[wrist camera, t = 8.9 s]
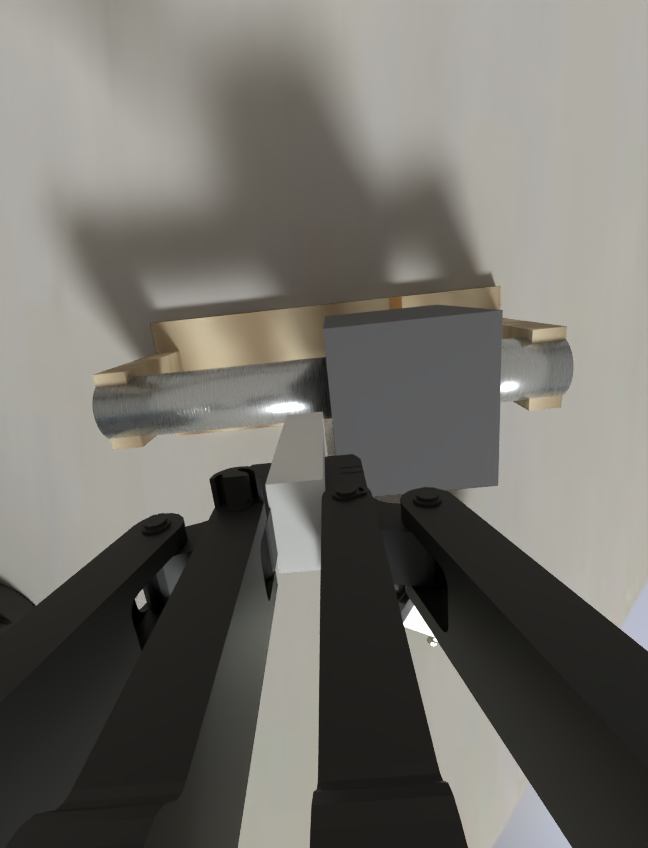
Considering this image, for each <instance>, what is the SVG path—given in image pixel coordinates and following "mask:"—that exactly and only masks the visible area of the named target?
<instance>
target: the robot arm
mask: <svg viewBox="0 0 648 848" xmlns="http://www.w3.org/2000/svg"><path fill="white" fill-rule="evenodd" d="M210 484H211V489H212V494H213V499H214V504H215V508H214V510H213V512H212V514H211V516H210V518H209V520H208V521H205V522H202V523H198V524H194V525H191V526H187V527H185V523H184V519H183V517H182V516H180V515H179V514H174V513H167V514H164V513H161V514H158V515H157V514H156V515H153V516H150V517H149V518H147V519H145V520H142V521H141V522H139V523H138V524H136V525H134V526H133V527H132V528H131V529H130V530H128V531H127V532H126V533H125V534H123V535H122V536H121V537H120V538H119V539H117V540H116V541H115V542H114V543H112V544H111V545H110V546H109V547H108V548H106V549H105V550H104V551H103V552H101V553H100V554H99V555H98V556H97V557H95V558H94V559H93V560H92V561H90V562H89V563H88V564H87V565H86V566H84V567H83V568H82V569H81V570H79V571H78V572H77V573H76V574H75V575H73V576H72V577H71V578H70V579H68V580H67V581H66V582H65V583H64V584H62V585H61V586H60V587H59V588H57V589H56V590H55V591H54V592H53V593H51V594H50V595H49V596H48V597H46V598H45V599H44V600H43V601H42V602H40V603H39V604H38V605H37V606H35V607H34V606H33V605H32V604H31V603H30V602H29V601H27V600H26V599H25V598H24V597H22V596H21V595H20V594H18V593H17V592H15V591H13V590H11V589H10V588H8V587H6V586H3V585H1V584H0V848H238V842H239V835H240V829H241V822H242V816H243V809H244V803H245V796H246V789H247V783H248V776H249V770H250V763H251V757H252V750H253V744H254V737H255V731H256V724H257V717H258V711H259V704H260V698H261V691H262V685H263V678H264V672H265V665H266V658H267V652H268V645H269V639H270V632H271V626H272V619H273V613H274V606H275V600H276V593H277V586H278V584H277V578H276V572H275V567H276V561H277V562H278V568H279V574H281V573H292V572H303V571H314V570H321V588H320V671H319V755H318V785H317V790H316V791H314V792H313V799H312V808H311V829H310V848H468V846H467V842H466V839H465V835H464V831H463V827H462V823H461V820H460V816H459V813H458V809H457V806H456V802H455V799H454V796H453V793H452V791H451V788H450V786H449V784H448V782H446V781H443V779H442V777H441V774H440V771H439V767H438V764H437V760H436V756H435V752H434V748H433V743H432V739H431V735H430V731H429V727H428V723H427V719H426V715H425V711H424V706H423V702H422V698H421V694H420V690H419V686H418V682H417V678H416V674H415V669H414V665H413V661H412V657H411V653H410V649H409V645H408V641H407V637H406V632H405V628H404V624H403V620H402V616H401V612H400V608H399V604H398V600H397V595H396V591H395V587H394V584H401V585H405V590H406V592H407V595H408V597H409V598H410V600H411V601H412V603H413V604H414V606H415V607H416V609H417V611H418V612H419V614H420V615H421V617H422V618H423V620H424V621H425V623H426V624H427V626H428V627H429V629H430V630H431V632H432V633H433V635H434V637H435V638H436V640H437V641H438V643H439V644H440V646H441V647H442V649H443V650H444V652H445V653H446V655H447V656H448V658H449V660H450V661H451V663H452V664H453V666H454V667H455V669H456V670H457V672H458V673H459V675H460V676H461V678H462V679H463V681H464V682H465V684H466V686H467V687H468V689H469V690H470V692H471V693H472V695H473V696H474V698H475V699H476V701H477V702H478V704H479V705H480V707H481V709H482V710H483V712H484V713H485V715H486V716H487V718H488V719H489V721H490V722H491V724H492V725H493V727H494V728H495V730H496V731H497V733H498V735H499V736H500V738H501V739H502V741H503V742H504V744H505V745H506V747H507V748H508V750H509V751H510V753H511V754H512V756H513V758H514V759H515V761H516V762H517V764H518V765H519V767H520V768H521V770H522V771H523V773H524V774H525V776H526V777H527V779H528V780H529V782H530V784H531V785H532V787H533V788H534V790H535V791H536V793H537V794H538V796H539V797H540V799H541V800H542V802H543V803H544V805H545V806H546V808H547V810H548V811H549V812H550V814H551V816H552V817H553V818H554V820H555V822H556V823H557V825H558V826H559V828H560V829H561V831H562V833H563V834H564V836H565V837H566V839H567V840H568V842H569V843H570V845H571V846H572V848H648V651H647V650H645V649H644V648H643V647H642V646H640V645H639V644H638V643H637V642H635V641H634V640H633V639H632V638H630V637H629V636H628V635H627V634H625V633H624V632H623V631H622V630H621V629H619V628H618V627H617V626H616V625H614V624H613V623H612V622H611V621H609V620H608V619H607V618H606V617H604V616H603V615H602V614H601V613H599V612H598V611H597V610H596V609H594V608H593V607H592V606H591V605H589V604H588V603H587V602H586V601H584V600H583V599H582V598H581V597H579V596H578V595H577V594H576V593H574V592H573V591H572V590H571V589H569V588H568V587H567V586H566V585H564V584H563V583H562V582H561V581H559V580H558V579H557V578H556V577H554V576H553V575H552V574H551V573H549V572H548V571H547V570H546V569H544V568H543V567H542V566H541V565H539V564H538V563H537V562H536V561H534V560H533V559H532V558H531V557H529V556H528V555H527V554H526V553H524V552H523V551H522V550H521V549H519V548H518V547H517V546H516V545H514V544H513V543H512V542H511V541H510V540H508V539H507V538H506V537H505V536H503V535H502V534H501V533H500V532H498V531H497V530H496V529H495V528H493V527H492V526H491V525H490V524H488V523H487V522H486V521H485V520H483V519H482V518H481V517H480V516H478V515H477V514H476V513H475V512H473V511H472V510H471V509H470V508H468V507H467V506H466V505H465V504H463V503H462V502H461V501H460V500H458V499H457V498H456V497H455V496H453V495H452V494H450V493H449V492H447V491H445V490H441V489H437V488H434V487H430V488H429V487H422V488H417V489H413V490H410V491H407V492H406V493H405V494H403V495H402V497H401V500H400V501H401V504H393V503H385V502H382V501H379V500H377V499H374V498H373V497H372V493H371V491H370V489H369V488H367V484H366V479H365V475H364V471H363V467H362V462H361V459H360V458H359V457H357V456H356V455H354V454H348V455H337V456H327V446H326V437H325V428H324V418H323V412H314V413H304V414H294V415H287V416H286V419H285V422H284V425H283V429H282V432H281V435H280V438H279V442H278V445H277V448H276V451H275V455H274V458H273V461H272V463H267V464H256V465H252V466H250V467H248V466H245V467H234V468H229V469H226V470H223V471H220V472H218V473H216V474H214V475H213V476H212V477H211V478H210ZM142 589H143V590H144V594H145V598H146V601H147V603H146V604H145V605H144V606H143V607H142V608H141V609H140V610H139V609H138V608H137V605H136V602H135V598H136V596H137V595H138V593H139V592H140V591H141V590H142Z"/></svg>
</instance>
